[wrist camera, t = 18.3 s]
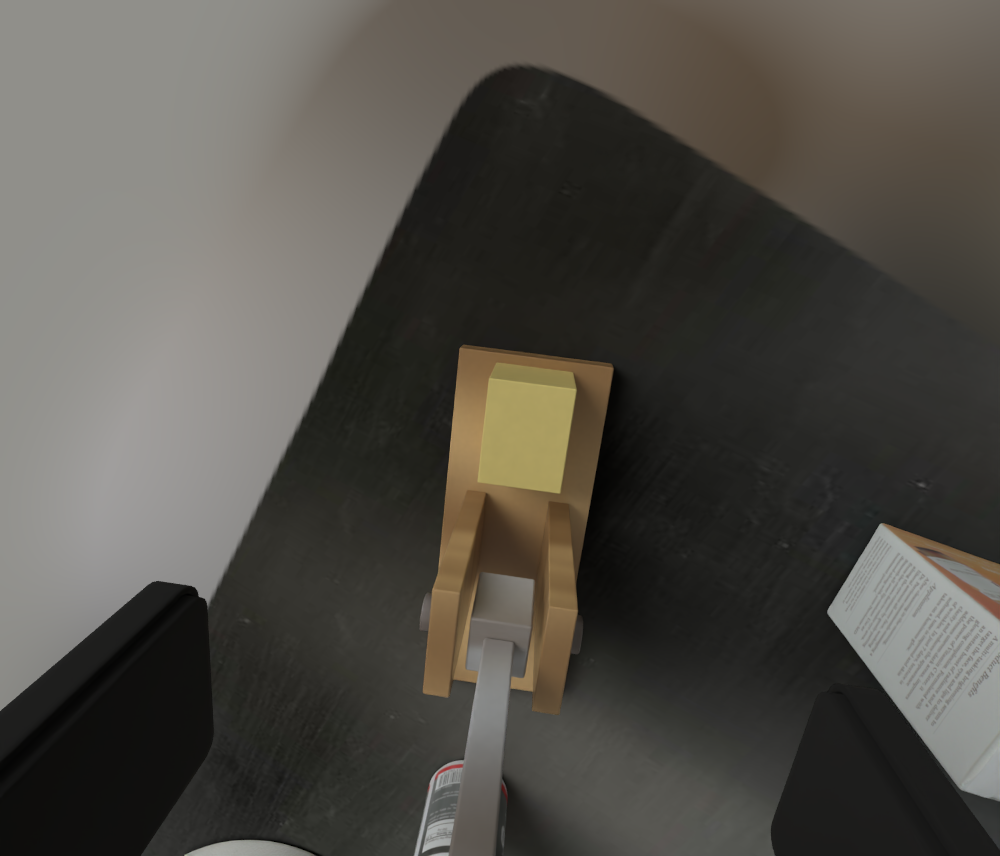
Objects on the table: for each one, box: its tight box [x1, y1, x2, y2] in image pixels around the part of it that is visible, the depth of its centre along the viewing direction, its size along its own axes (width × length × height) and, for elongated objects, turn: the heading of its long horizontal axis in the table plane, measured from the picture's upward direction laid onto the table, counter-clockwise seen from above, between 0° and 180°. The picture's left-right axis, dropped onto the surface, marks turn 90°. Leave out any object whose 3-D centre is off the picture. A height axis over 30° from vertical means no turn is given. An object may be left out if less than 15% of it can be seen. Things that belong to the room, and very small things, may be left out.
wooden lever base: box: [420, 345, 614, 715], centre depth 25 cm, size 18×7×10 cm, turn 173°
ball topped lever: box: [449, 572, 535, 856], centre depth 16 cm, size 15×3×3 cm
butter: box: [478, 363, 577, 494], centre depth 25 cm, size 4×4×4 cm
